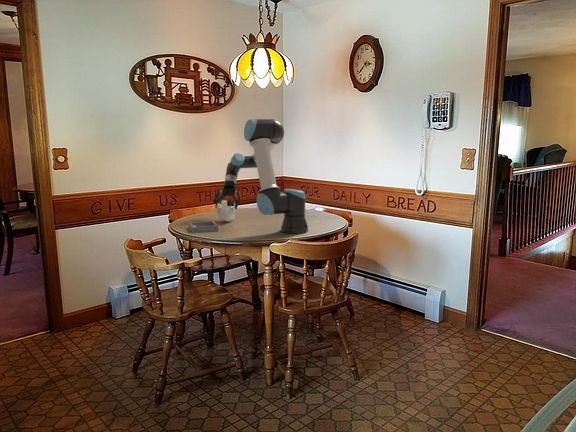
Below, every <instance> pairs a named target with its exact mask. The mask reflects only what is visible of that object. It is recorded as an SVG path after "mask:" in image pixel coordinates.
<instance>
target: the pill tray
mask: <svg viewBox="0 0 576 432" xmlns="http://www.w3.org/2000/svg"><path fill="white" fill-rule="evenodd" d="M188 228H189V229H190V231H191V232H193V233H196V232H197V233H205V232H207V233H208V232H219V224H217V223H216V222H215V221H214V220H206V221H205V220H204V221H193V222H192V221H191V222H188ZM193 233H192V234H193ZM197 233H196V234H197Z"/></svg>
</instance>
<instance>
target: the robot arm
mask: <svg viewBox="0 0 576 432" xmlns="http://www.w3.org/2000/svg"><path fill="white" fill-rule="evenodd" d="M243 128H244V129H243V136H244V140H245V141H247V142H249V146H250V147H252V148H253V154H252V155H249V156H248V155H243V154H242V153H239V152H236V153H234V154H233V155H232V157H231V158H230V162H229V163H227V166H226V172H225V177H224V183H223V188H222V189H220V188H218V189H217V192H216V194H215V197H214V198H213V201H212V202H213V205H215V206H214V208H215V213H216V214H217V215H219V214H218V208H220V206H221V201H222V200H225V199H224V198H226V197H232V199H233V202H234V203H233V207H232V208H233V214H235V215H236V210H238V205H241V204H242V202H241V195H240V194H241V191H240V189H237V181H238V175H239V172H240V170H241V169H257V175H258V179H259V184H260V189H259V191H258V194H257V196H256V205H257V206H256V207H257V209H258V211H259V213H260V214H262V215H263V216H273V215H281V214H283V219H282V222H281V226H280V232H281V233H285V234H292V235H293V234H295V235H296V234H304V233H305V234H306V233H307V232H309V227H308V226H309V225H308V223H307V219H306V193H305V191H303V190H301V189H292V188H284V189H283V191H281V188H280V187H279V186H278V185H277V180H276V176H275V175H276V174H275V170H274V166H273V159H272V156H271V155H272V154H271V151H272V150H273V149H274V148H275V146H276V145H278V144H280V143H281V142H282V140H283V139H284V136H285V127H284V126H283V124H282V123H281V122H280V121H279V120H277V119H275V118H274V119H273V118H268V119H267V118H253V119H251V118H250V119H248V120H247V121H246V123H245V124H244V127H243ZM235 194H237V198H236V197H235ZM237 199H238V200H237Z"/></svg>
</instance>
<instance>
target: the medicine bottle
mask: <svg viewBox="0 0 576 432" xmlns="http://www.w3.org/2000/svg"><path fill="white" fill-rule="evenodd" d="M220 206H221V207H219V208H218V214H217V215H218V220H219V221H225V222H228V221H232V220H235V218H236V217H235V216H236V213H235V214H233V207H232V200H230V199H223V200H222V201H221V202H220Z"/></svg>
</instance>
